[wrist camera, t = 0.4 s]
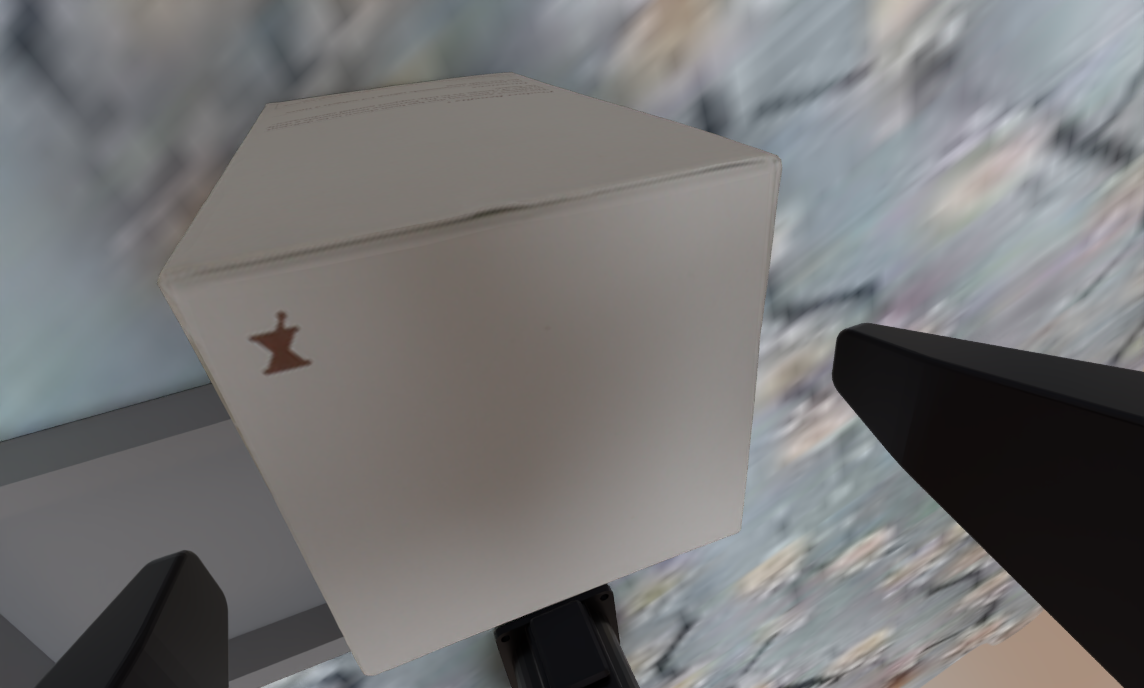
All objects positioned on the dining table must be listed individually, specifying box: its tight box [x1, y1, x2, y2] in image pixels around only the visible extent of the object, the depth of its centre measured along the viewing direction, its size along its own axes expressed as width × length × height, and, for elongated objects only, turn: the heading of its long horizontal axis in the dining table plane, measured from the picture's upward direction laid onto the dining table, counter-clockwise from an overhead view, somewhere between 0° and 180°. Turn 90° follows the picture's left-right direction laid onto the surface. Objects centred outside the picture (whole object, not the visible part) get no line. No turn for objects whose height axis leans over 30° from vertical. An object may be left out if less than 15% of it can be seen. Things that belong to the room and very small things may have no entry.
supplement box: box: [157, 72, 782, 676], centre depth 13 cm, size 7×7×13 cm
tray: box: [0, 384, 351, 688], centre depth 20 cm, size 12×12×2 cm
